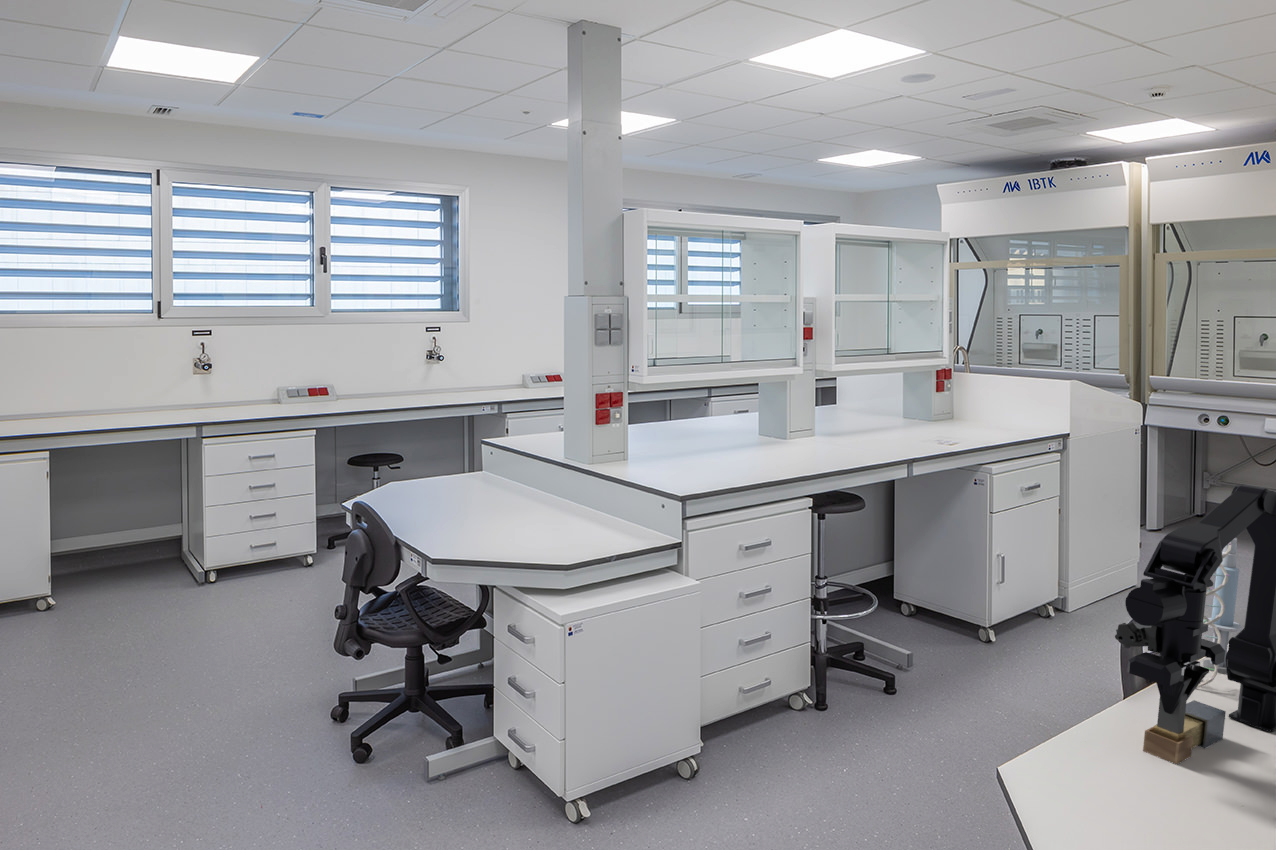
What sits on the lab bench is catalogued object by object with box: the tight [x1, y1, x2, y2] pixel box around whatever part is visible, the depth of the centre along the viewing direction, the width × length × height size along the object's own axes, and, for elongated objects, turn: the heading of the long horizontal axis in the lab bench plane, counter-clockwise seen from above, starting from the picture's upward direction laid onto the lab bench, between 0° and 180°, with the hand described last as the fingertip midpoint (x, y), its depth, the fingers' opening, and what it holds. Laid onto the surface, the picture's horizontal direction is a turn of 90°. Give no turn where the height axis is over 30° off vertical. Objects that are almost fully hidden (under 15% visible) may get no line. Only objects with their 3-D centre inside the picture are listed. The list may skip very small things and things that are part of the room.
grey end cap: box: [1185, 699, 1227, 749], centre depth 141 cm, size 6×5×5 cm
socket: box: [1142, 726, 1193, 765], centre depth 136 cm, size 5×5×3 cm
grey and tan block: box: [1153, 693, 1206, 749], centre depth 137 cm, size 9×4×10 cm, turn 123°
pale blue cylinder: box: [1202, 537, 1243, 674], centre depth 170 cm, size 5×6×35 cm
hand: (1171, 711), depth 135 cm, fingers closed on grey and tan block, 2 cm apart
